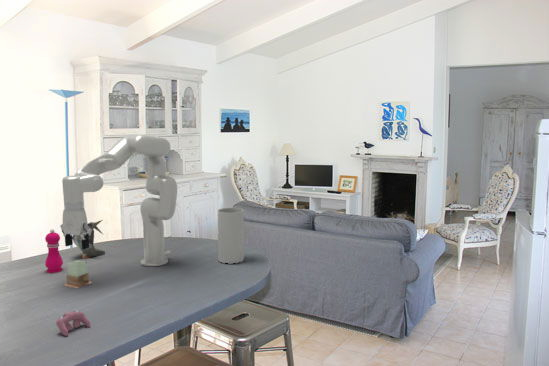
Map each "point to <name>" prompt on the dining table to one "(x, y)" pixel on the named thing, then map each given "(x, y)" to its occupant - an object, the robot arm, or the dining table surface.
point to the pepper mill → (53, 253)
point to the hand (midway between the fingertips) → (77, 247)
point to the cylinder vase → (230, 235)
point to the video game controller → (71, 316)
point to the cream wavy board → (78, 286)
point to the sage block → (77, 268)
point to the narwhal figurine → (91, 250)
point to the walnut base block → (77, 280)
